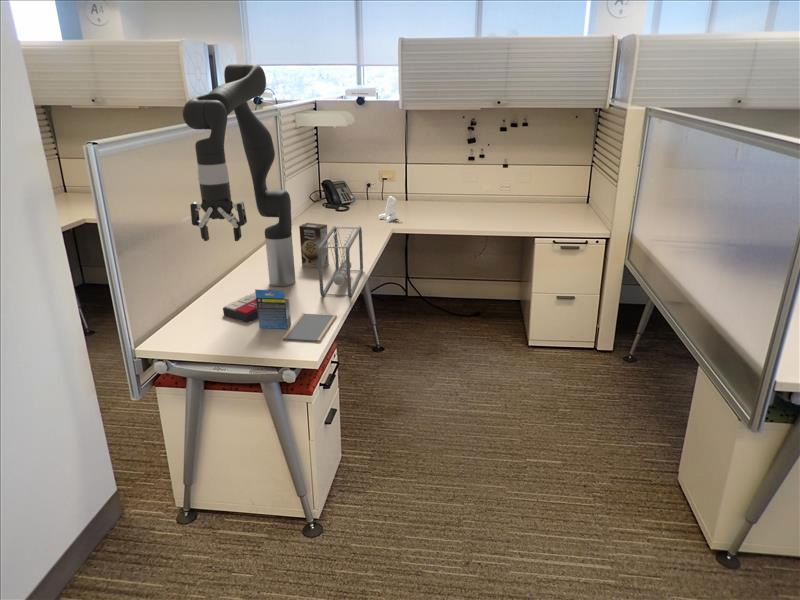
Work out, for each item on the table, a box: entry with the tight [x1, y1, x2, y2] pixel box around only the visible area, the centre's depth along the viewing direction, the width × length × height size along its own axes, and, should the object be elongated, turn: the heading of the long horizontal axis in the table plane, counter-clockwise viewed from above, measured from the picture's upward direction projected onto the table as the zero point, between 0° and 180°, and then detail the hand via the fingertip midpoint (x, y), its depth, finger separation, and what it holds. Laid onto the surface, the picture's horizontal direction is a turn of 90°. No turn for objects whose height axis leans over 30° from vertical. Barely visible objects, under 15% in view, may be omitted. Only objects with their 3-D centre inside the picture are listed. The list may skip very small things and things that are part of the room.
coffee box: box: [298, 222, 330, 269], centre depth 223 cm, size 9×6×16 cm
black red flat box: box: [222, 291, 274, 324], centre depth 182 cm, size 11×4×15 cm
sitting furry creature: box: [378, 195, 399, 223], centre depth 292 cm, size 10×9×12 cm
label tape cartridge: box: [254, 289, 292, 330], centre depth 170 cm, size 9×4×12 cm, turn 83°
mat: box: [282, 312, 337, 343], centre depth 170 cm, size 18×11×1 cm, turn 171°
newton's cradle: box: [318, 225, 364, 298], centre depth 203 cm, size 30×10×18 cm, turn 176°
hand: (221, 240), depth 156 cm, fingers open, 8 cm apart
